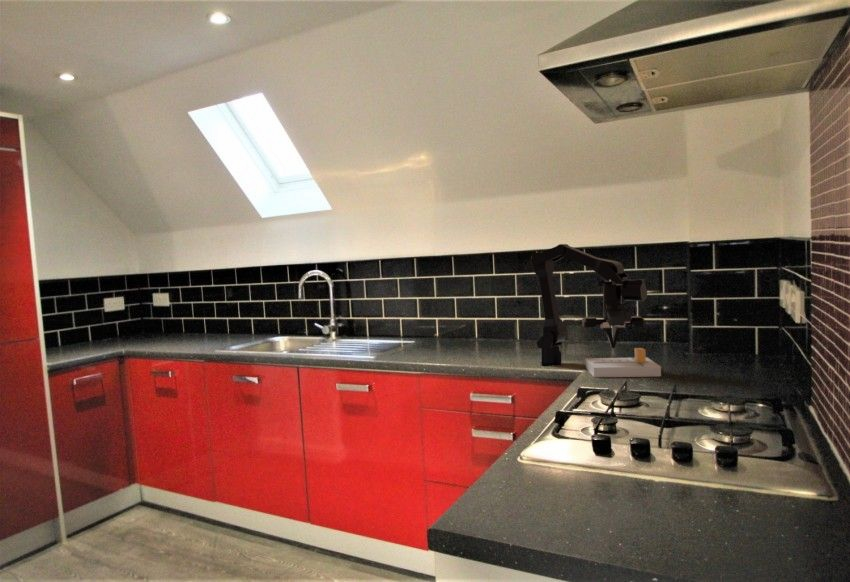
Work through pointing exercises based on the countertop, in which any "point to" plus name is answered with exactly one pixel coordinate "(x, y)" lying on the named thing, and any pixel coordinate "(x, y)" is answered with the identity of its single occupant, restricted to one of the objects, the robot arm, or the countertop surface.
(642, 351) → the fader knob
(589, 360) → the console
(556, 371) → the countertop surface
